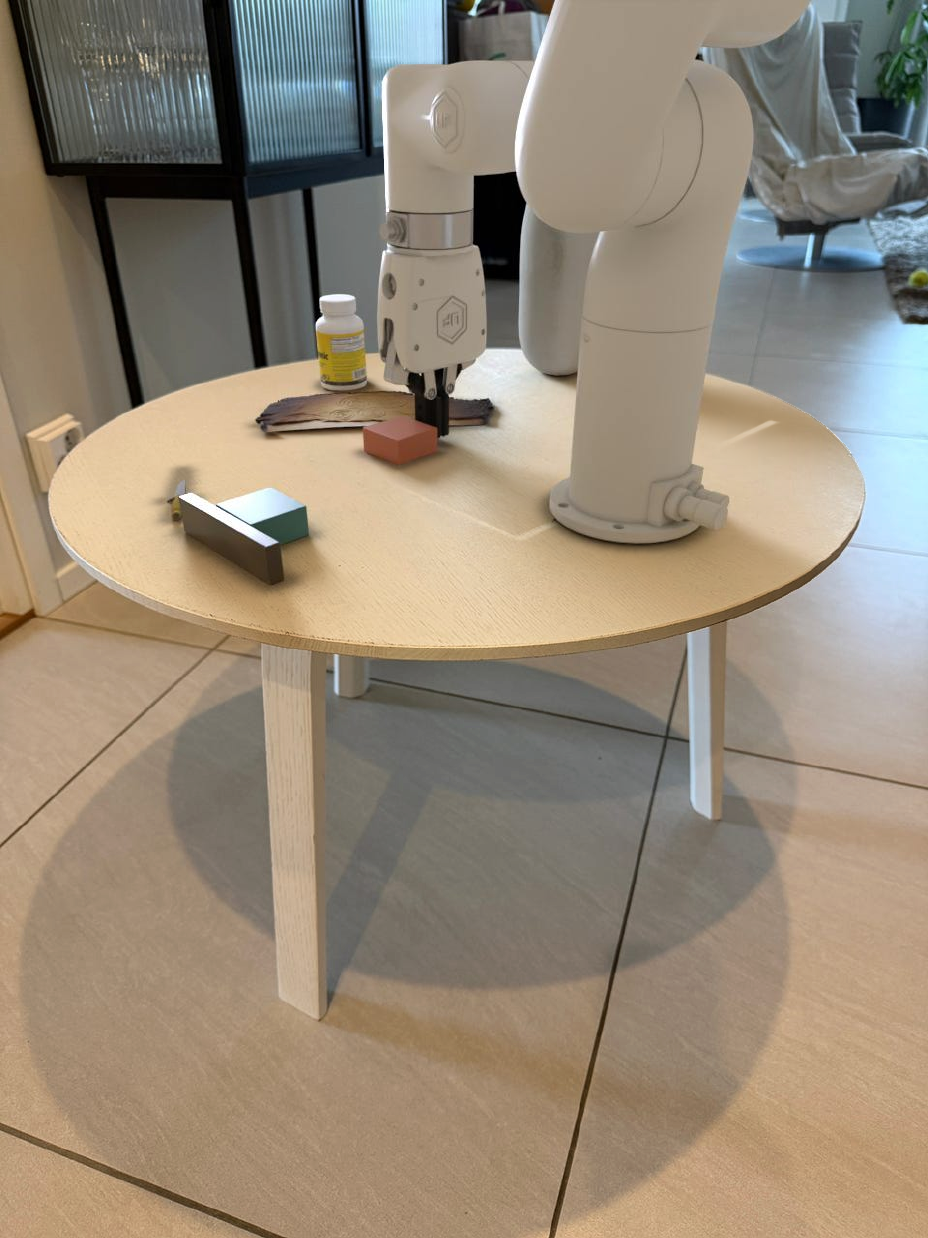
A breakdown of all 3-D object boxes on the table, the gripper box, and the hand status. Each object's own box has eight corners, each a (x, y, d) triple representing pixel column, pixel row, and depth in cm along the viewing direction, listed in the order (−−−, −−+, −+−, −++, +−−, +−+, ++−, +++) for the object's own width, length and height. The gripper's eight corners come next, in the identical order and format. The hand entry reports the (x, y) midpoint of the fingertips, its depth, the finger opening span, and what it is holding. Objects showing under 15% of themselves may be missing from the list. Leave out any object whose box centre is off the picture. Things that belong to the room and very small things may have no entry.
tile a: (309, 534, 68) (306, 505, 67) (254, 555, 65) (250, 524, 64) (274, 514, 71) (270, 486, 70) (219, 533, 68) (215, 504, 67)
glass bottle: (515, 361, 111) (524, 105, 96) (596, 362, 111) (617, 106, 96) (516, 383, 103) (526, 108, 88) (603, 385, 102) (628, 108, 88)
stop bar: (284, 579, 62) (280, 542, 61) (270, 585, 61) (265, 547, 60) (197, 527, 69) (191, 492, 68) (183, 531, 69) (177, 496, 67)
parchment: (254, 433, 87) (253, 425, 87) (261, 400, 95) (260, 392, 95) (499, 427, 90) (499, 419, 89) (485, 396, 98) (485, 388, 98)
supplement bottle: (319, 379, 104) (312, 293, 98) (365, 377, 104) (360, 291, 99) (321, 393, 99) (314, 303, 94) (369, 390, 100) (364, 301, 95)
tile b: (437, 452, 84) (437, 427, 82) (399, 466, 80) (398, 440, 79) (402, 439, 87) (401, 415, 85) (363, 452, 83) (362, 427, 82)
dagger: (170, 472, 79) (192, 466, 79) (174, 481, 80) (195, 475, 80) (161, 515, 70) (186, 508, 70) (166, 525, 70) (190, 518, 71)
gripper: (391, 246, 69) (398, 463, 79) (519, 228, 78) (512, 425, 88) (334, 235, 74) (348, 442, 84) (462, 219, 83) (460, 408, 92)
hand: (432, 433), depth 86 cm, fingers closed
